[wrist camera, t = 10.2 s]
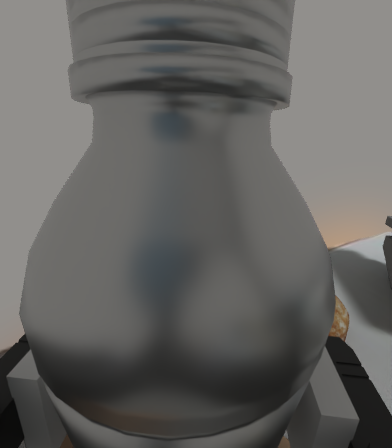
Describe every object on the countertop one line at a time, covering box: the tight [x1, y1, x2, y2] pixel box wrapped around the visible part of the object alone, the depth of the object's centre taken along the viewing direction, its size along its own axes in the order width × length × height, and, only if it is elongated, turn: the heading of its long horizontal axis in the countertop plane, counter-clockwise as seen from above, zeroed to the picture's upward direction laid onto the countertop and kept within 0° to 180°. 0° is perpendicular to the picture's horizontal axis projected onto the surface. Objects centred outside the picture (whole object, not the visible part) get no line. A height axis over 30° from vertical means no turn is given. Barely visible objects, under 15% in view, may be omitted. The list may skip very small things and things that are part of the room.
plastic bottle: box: [19, 0, 336, 448], centre depth 8 cm, size 6×7×20 cm
